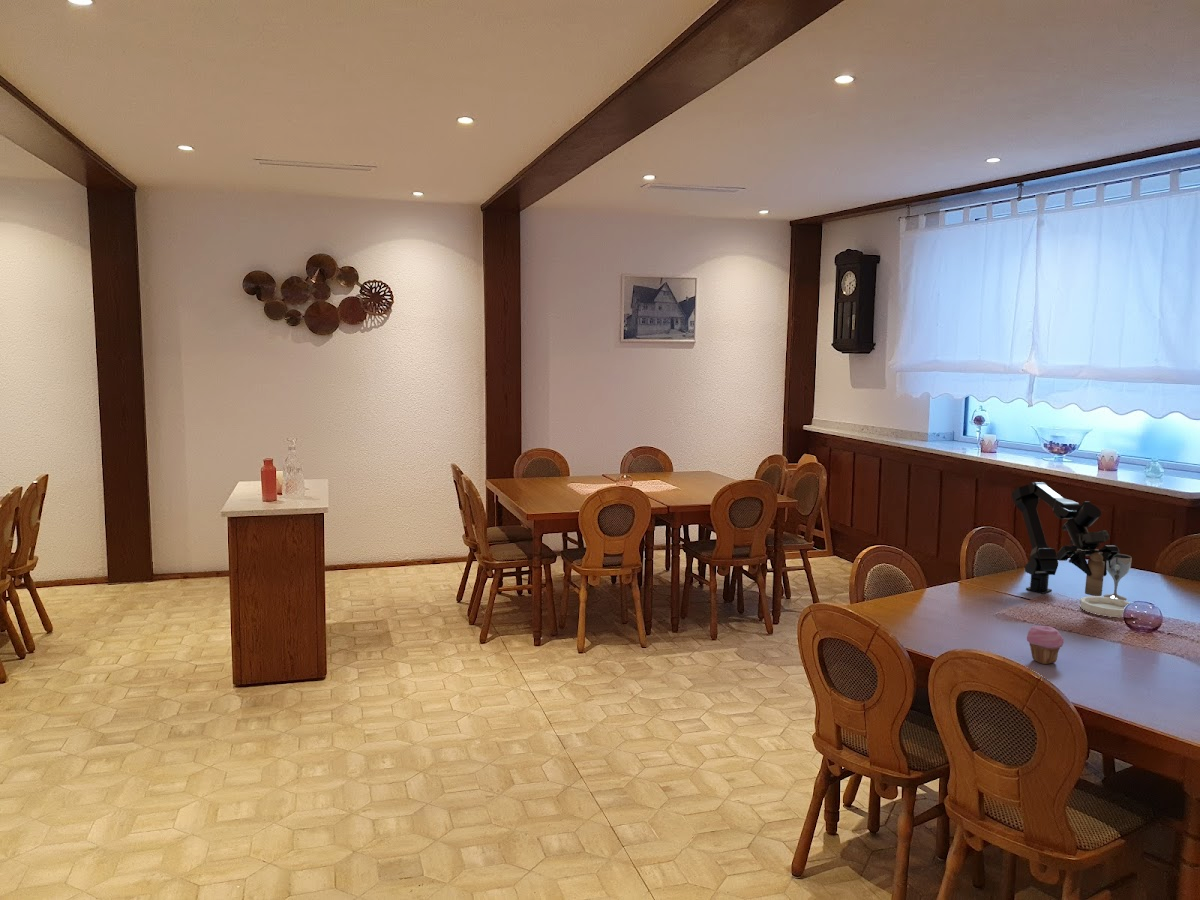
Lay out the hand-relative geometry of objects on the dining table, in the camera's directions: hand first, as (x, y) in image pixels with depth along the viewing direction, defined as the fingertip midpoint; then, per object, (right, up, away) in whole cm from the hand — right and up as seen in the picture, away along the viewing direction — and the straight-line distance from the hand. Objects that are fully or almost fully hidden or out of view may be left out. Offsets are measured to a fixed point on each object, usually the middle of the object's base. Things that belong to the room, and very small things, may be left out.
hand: (1097, 575), depth 282 cm
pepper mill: (0, -6, +2) cm, 7 cm away
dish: (+7, -13, +7) cm, 16 cm away
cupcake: (-40, -17, -44) cm, 62 cm away
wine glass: (+20, -11, +24) cm, 34 cm away
